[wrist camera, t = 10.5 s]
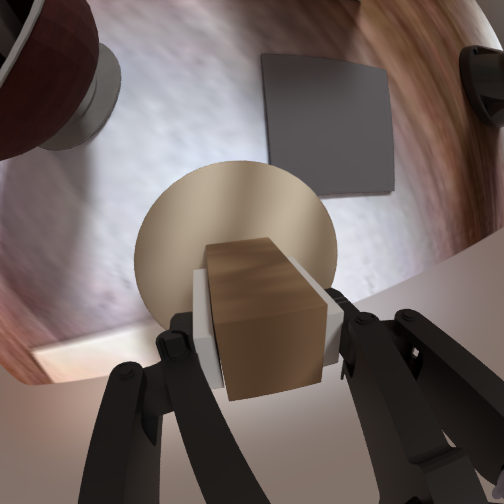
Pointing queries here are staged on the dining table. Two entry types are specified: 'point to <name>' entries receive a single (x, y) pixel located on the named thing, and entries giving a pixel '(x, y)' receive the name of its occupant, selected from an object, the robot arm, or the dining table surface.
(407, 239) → the dining table surface
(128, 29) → the dining table surface
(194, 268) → the lid
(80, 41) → the mate gourd
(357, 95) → the mat
